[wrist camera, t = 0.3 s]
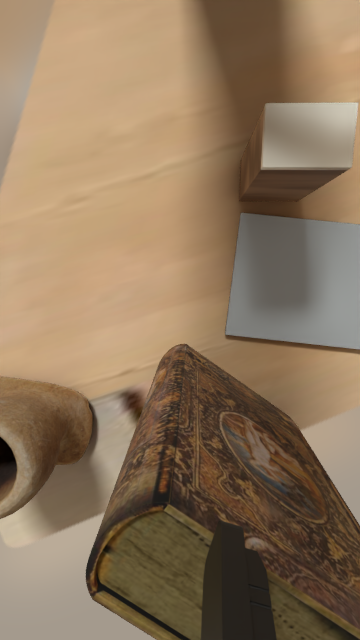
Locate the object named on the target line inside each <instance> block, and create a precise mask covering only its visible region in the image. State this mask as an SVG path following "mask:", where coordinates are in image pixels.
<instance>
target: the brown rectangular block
mask: <svg viewBox="0 0 360 640" xmlns="http://www.w3.org/2000/svg"><path fill="white" fill-rule="evenodd" d="M357 110H358V103H266V104H265V106H264V109H263V111H262V113H261V116H260V118H259V120H258V122H257V125H256V127H255V129H254V132H253V134H252V136H251V138H250V141H249V143H248V145H247V148H246V150H245V152H244V154H243V157H242V159H241V168H240V191H239V201H296V202H297V201H299V200H300V199H302V198H303V197H305V196H307V195H308V194H310V193H312V192H313V191H315V190H316V189H318V188H320V187H321V186H323V185H324V184H326V183H328V182H329V181H331V180H332V179H334V178H336V177H337V176H339V175H341V174H342V173H344V172H345V171H347V170H349V169H350V168H352V161H353V151H354V141H355V131H356V121H357Z"/></svg>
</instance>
